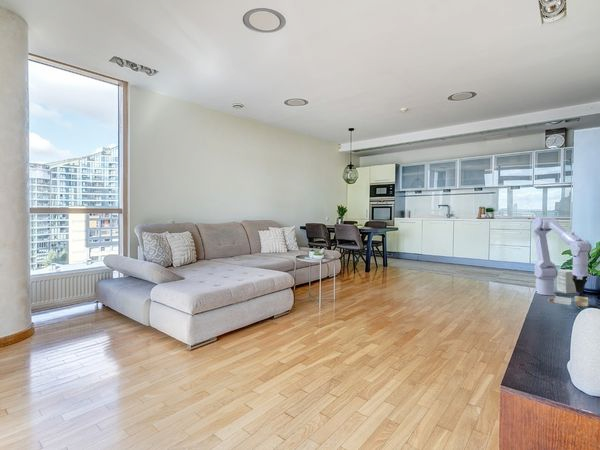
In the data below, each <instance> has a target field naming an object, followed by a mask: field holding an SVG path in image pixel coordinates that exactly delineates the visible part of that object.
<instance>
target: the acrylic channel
mask: <svg viewBox="0 0 600 450" xmlns="http://www.w3.org/2000/svg"><path fill="white" fill-rule="evenodd" d="M554 296H555V295H554ZM554 299H555V301H554V303H556V304H561V305H567V306H571V305H572V298H570V297H563V296H555V298H554Z"/></svg>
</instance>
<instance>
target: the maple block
mask: <svg viewBox="0 0 600 450" xmlns="http://www.w3.org/2000/svg"><path fill="white" fill-rule="evenodd" d="M574 306H578V307H584V306H588V307H589V297H587V296H580V295H579V296H577V295H574Z"/></svg>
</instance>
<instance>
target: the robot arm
mask: <svg viewBox="0 0 600 450" xmlns="http://www.w3.org/2000/svg"><path fill="white" fill-rule="evenodd" d="M532 229H533V234H534V241H535V246H536V254H537V258H538V259H537V260H538V262H537V263H535V264H534V270H533V273H534V275H535V277H536V279H535V289H534V290H533V292H535V293H537V295H538V294H539V295H542V296H557V294H556V293H555V292H554V291H555V290H554V288H555V287H554V286H555V281H554V280H556V278H557V275H558V271H557V270H558V269H557V267H556V264H555V263H553V262H552V261H551V257H550V256H551V255H550V251H549V246H548V245H549V244H548V239H547V235H548V233H549V232H551V231H553V232H554V233H556V234H557V235H558V236H560V239H561V240H562V242H564V243H565V244H566V245H568V246H569V249H570V252H571V255H572V268H571V270H572V274H573V277H574V278H572V280H573V281H574V284H575V288H576V292H577V293H576V294H583V292H584V288H585V285H586V283H587V282H588V277H589V276H592V274H591V273H588V272H589V271H588V270H589V269H588V268H589V265H588V264H589V253H590V251H591V250H592V248H593V246H592V244H591V242H590V241H589V240H584V239H582V238H580V237H579V236H578V235H577V234H575V232H573V231H567V230H566V229H565V228H564V227H563V226H562V225H561V224H560V223H559V220H558V219H556V218H555V217H535V218H534V220H533V221H532ZM536 291H537V292H536ZM557 297H558V296H557Z"/></svg>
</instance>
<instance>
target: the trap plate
mask: <svg viewBox="0 0 600 450" xmlns="http://www.w3.org/2000/svg"><path fill="white" fill-rule="evenodd" d="M547 303H553V304H554V303H555V298H548V299H547Z"/></svg>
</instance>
